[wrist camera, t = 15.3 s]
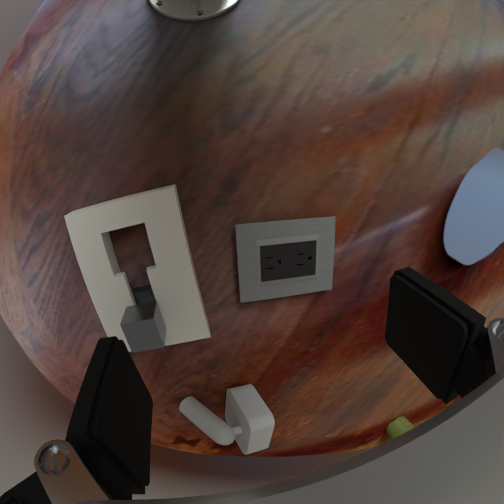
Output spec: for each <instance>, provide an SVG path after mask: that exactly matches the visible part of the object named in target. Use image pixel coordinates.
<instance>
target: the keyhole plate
mask: <svg viewBox="0 0 504 504" xmlns="http://www.w3.org/2000/svg"><path fill="white" fill-rule="evenodd" d="M64 217H65V221H66V224H67V228H68V231H69V235H70V238H71V242H72V245H73V248H74V251H75V254H76V257H77V261H78V264H79V266H80V269H81V272H82V275H83V278H84V281H85V283H86V286H87V289H88V291H89V294H90V296H91V299H92V302H93V304H94V307H95V309H96V311H97V314H98V316H99V318H100V321H101V323H102V325H103V328H104V330H105V332H106V334H107V337H112V336H116V337H117V338H118V339H119V340H123V341H124V343H125V345H126V347H127V349H128V351H129V352H131V349H130V346H129V344H128V342H127V340H126V337H125V335H124V333H123V331H122V328H121V326H120V323H121V320H122V317H123V315H124V312H125V309H126V307H128V306H133V305H136V302H135V299H134V296H133V294H132V291H131V288H130V285H129V282H128V279H127V276H126V273H125V272H122V273H121V271H120V268H119V265H118V262H117V259H116V255H115V252H114V249H113V245H112V242H111V238H110V235H109V231H112V230H116V229H120V228H124V227H128V226H132V225H137V224H141V223H145V227H146V231H147V235H148V239H149V242H150V246H151V250H152V254H153V257H154V261H155V264H156V265H154V266H150V267H147V270H146V271H147V274H148V277H149V281H150V284H151V287H152V290H153V293H154V296H155V299H156V301H157V303H158V306H159V309H160V312H161V314H162V317H163V320H164V323H165V326H166V337H165V346H168V345H173V344H179V343H184V342H189V341H194V340H199V339H204V338H209V337H211V335H210V327H209V323H208V319H207V315H206V312H205V308H204V304H203V300H202V296H201V292H200V289H199V285H198V281H197V277H196V273H195V268H194V264H193V260H192V256H191V252H190V247H189V243H188V239H187V234H186V230H185V225H184V221H183V216H182V212H181V207H180V202H179V197H178V192H177V187H176V184H174V185H170V186H165V187H161V188H157V189H152V190H148V191H144V192H140V193H136V194H132V195H128V196H124V197H121V198H117V199H113V200H109V201H106V202H102V203H99V204H95V205H92V206H88V207H85V208H81V209H78V210H75V211H72V212H70V213H69V214H67V215H65V216H64Z"/></svg>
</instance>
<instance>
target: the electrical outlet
mask: <svg viewBox="0 0 504 504" xmlns="http://www.w3.org/2000/svg"><path fill="white" fill-rule="evenodd" d="M335 219H336V217H335V216H333V217H319V218H306V219H293V220H281V221H269V222H257V223H246V224H235V231H236V247H237V262H238V277H239V292H240V303H244V302H251V301H259V300H266V299H273V298H280V297H287V296H293V295H300V294H306V293H313V292H319V291H325V290H331V289H332V279H333V263H334V245H335Z"/></svg>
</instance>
